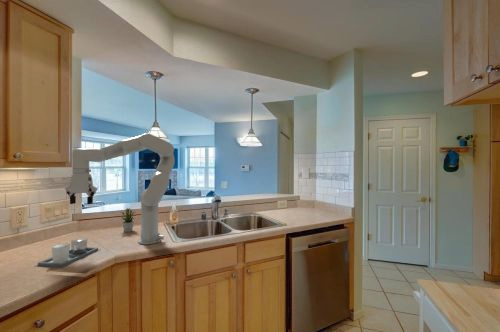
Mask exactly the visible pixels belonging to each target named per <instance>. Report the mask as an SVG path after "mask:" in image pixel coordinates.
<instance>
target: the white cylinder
mask: <svg viewBox="0 0 500 332" xmlns="http://www.w3.org/2000/svg"><path fill="white" fill-rule="evenodd" d="M69 250H71V243H65V242H64V243H58V244H54V245H52V246H51V254H52V255H51V257H53V263H62V262H66V261H68V258H69Z"/></svg>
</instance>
